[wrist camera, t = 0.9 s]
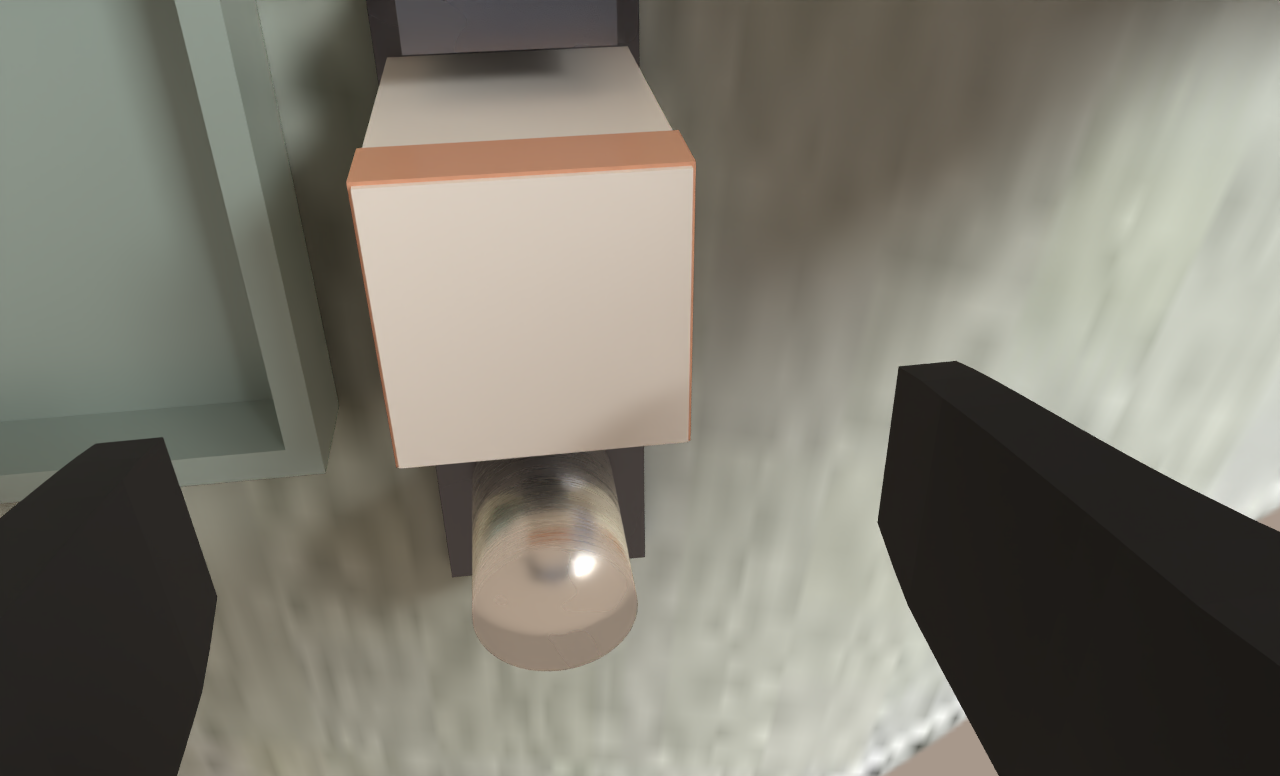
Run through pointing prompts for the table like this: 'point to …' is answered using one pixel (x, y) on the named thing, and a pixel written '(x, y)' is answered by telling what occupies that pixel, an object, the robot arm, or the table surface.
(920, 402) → the robot arm
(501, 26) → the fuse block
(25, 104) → the tray
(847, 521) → the table surface
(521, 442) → the beige and orange block
